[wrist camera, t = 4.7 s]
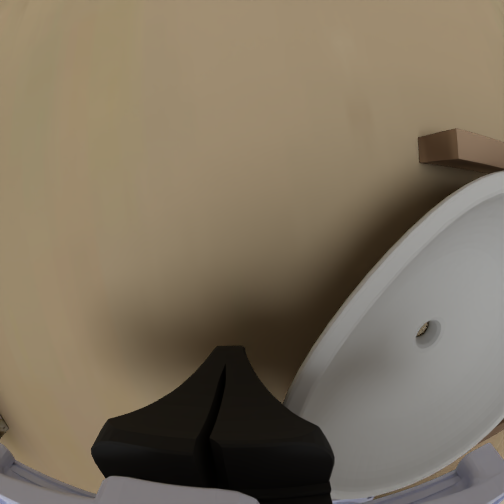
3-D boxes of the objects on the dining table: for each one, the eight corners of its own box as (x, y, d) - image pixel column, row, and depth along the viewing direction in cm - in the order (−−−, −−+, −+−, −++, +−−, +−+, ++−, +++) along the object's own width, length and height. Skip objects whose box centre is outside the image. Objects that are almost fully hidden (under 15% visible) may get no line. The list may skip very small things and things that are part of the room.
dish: (447, 108, 11) (513, 88, 6) (532, 289, 13) (577, 311, 8) (199, 358, 13) (179, 432, 8) (360, 462, 15) (378, 514, 10)
